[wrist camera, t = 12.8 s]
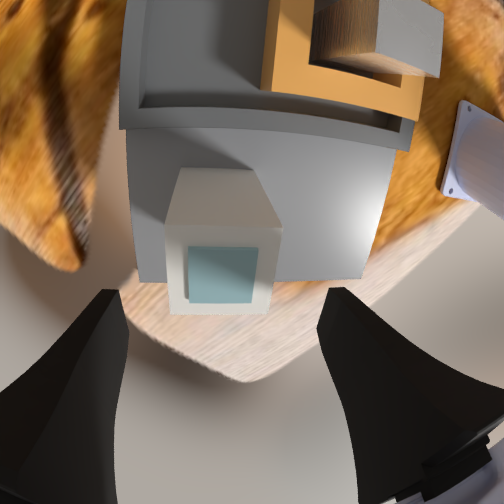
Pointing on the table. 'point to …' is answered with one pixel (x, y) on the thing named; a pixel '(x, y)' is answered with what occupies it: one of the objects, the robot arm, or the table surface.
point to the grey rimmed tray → (252, 74)
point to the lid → (277, 189)
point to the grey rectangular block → (379, 37)
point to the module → (220, 243)
